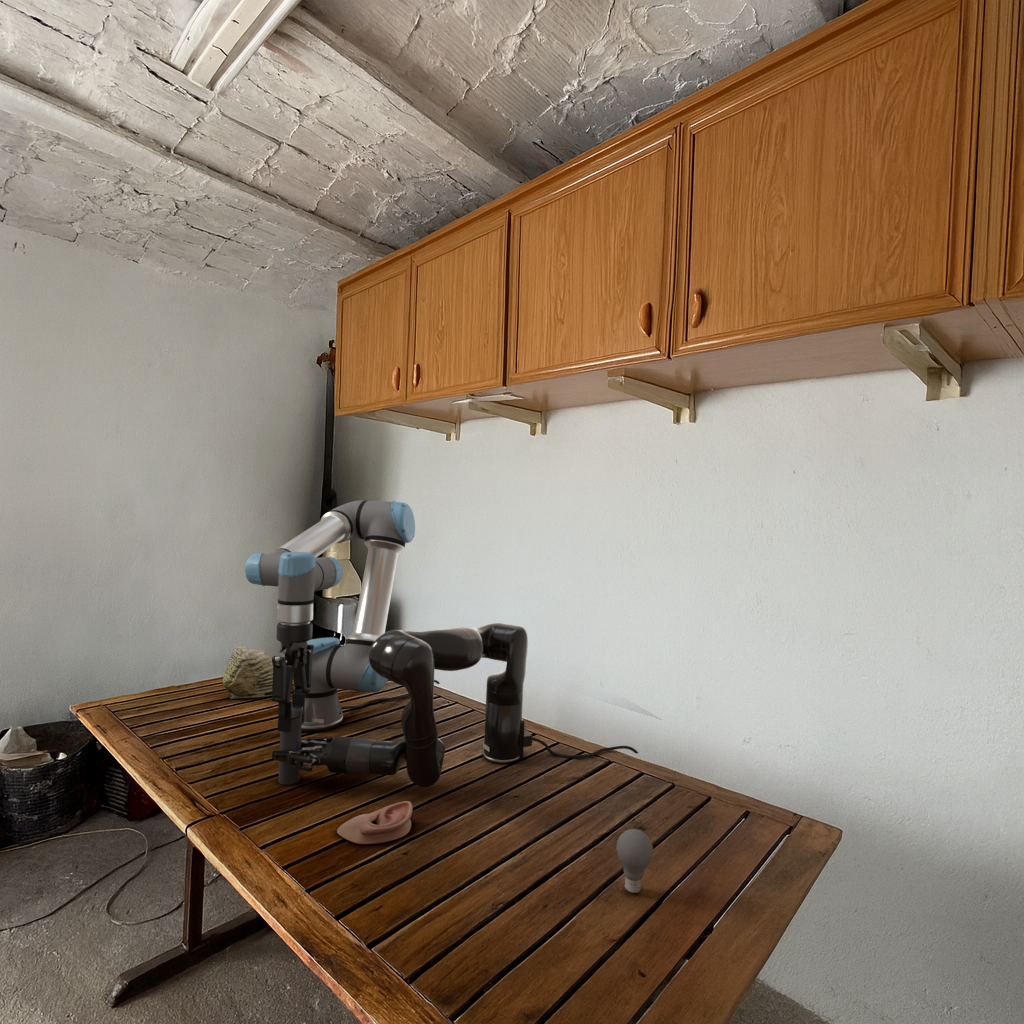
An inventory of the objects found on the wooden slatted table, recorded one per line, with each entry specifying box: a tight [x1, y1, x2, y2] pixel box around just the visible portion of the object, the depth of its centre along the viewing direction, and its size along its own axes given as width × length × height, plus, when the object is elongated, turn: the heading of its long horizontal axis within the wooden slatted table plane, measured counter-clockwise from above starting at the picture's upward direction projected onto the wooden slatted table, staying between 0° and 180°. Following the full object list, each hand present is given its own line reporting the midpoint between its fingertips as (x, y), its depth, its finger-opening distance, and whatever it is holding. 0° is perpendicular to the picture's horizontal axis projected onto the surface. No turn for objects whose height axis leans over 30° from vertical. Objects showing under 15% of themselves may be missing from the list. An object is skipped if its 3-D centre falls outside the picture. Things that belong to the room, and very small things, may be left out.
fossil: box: [222, 646, 273, 699], centre depth 198 cm, size 9×18×15 cm, turn 132°
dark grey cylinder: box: [278, 716, 302, 786], centre depth 141 cm, size 4×4×16 cm
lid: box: [291, 704, 303, 718], centre depth 140 cm, size 5×5×2 cm
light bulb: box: [615, 828, 654, 894], centre depth 106 cm, size 6×6×10 cm
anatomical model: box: [336, 800, 414, 845], centre depth 121 cm, size 13×4×12 cm
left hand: (291, 726), depth 140 cm, fingers closed on lid, 5 cm apart
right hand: (278, 750), depth 141 cm, fingers closed on dark grey cylinder, 4 cm apart
